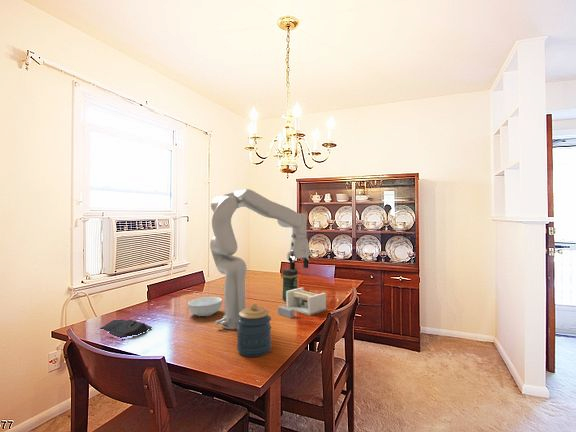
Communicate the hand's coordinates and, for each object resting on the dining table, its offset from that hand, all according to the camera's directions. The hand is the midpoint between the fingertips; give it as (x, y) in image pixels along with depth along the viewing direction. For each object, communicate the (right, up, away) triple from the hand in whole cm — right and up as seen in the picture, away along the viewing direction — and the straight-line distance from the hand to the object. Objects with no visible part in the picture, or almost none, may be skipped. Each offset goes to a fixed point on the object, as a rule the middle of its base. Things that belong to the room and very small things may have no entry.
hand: (299, 268), depth 167 cm
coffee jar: (-4, -22, +18) cm, 29 cm away
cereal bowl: (-48, -23, -6) cm, 54 cm away
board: (+3, -16, 0) cm, 16 cm away
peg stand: (+4, -22, 0) cm, 22 cm away
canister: (-19, -23, -48) cm, 57 cm away
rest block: (-7, -22, -9) cm, 25 cm away
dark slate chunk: (-79, -24, -27) cm, 87 cm away
